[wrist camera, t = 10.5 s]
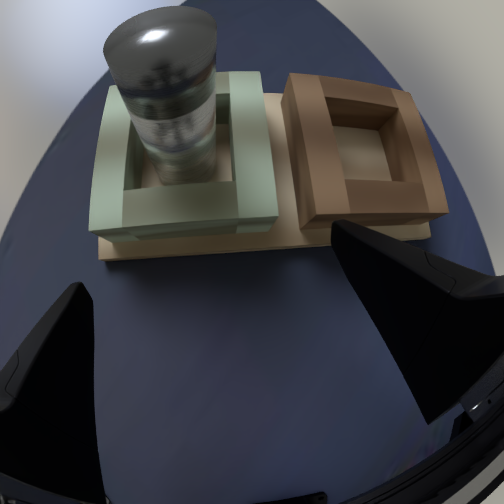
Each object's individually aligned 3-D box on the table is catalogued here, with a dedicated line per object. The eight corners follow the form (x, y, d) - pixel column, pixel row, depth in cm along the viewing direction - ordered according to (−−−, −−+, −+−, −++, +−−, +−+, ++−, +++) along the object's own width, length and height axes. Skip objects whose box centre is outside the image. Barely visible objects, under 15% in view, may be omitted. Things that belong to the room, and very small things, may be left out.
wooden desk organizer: (423, 239, 20) (460, 227, 15) (104, 261, 17) (73, 251, 13) (390, 113, 22) (414, 86, 17) (117, 113, 19) (99, 79, 15)
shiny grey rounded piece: (226, 175, 18) (237, 42, 7) (170, 202, 17) (115, 87, 6) (200, 130, 18) (192, -3, 7) (148, 154, 18) (96, 32, 7)
